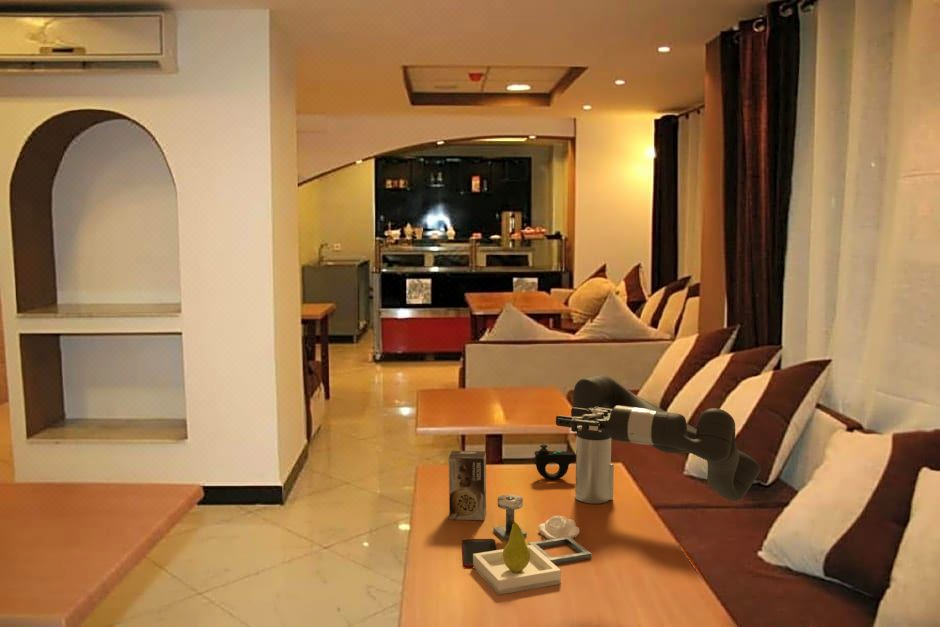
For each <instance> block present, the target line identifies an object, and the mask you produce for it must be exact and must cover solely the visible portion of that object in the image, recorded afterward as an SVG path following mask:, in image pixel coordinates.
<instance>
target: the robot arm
mask: <svg viewBox="0 0 940 627" xmlns="http://www.w3.org/2000/svg"><path fill="white" fill-rule="evenodd" d="M572 404H573V405H572V408H571V410H570V416H568V415H562V414H558V415H556V416H555V425H556V426H558V427H563V428H570V429H571V430H570V431H571V432H573V433H576V436H575V437H576V439H575V441H576V444H575V445H576V446H575V449H576V450H575V454H576V461H575V488H574V491H575V493H574V497H575V499H576V500H577V501H579V502H582V503H586V504H603V503H607V502H609V501H610V500H614V473H615V472H614V471H615V469H614V468H615V465H614V464H613V463H612V440H613V441H615V442H616V441H617V442H623V443H632V444H637V445H650V446H652V447H653V448H654V449H657V450H659V451H660V452H662V453H667V454H692V455H694V456H697V457H698V458H700V459H702V460H705V461H706V463H707V476H706V478H707V479H706V480H707V481H706V482H707V484H708V485H709V487H710V488H711V489H712V490H713V491H714V492H715V493H716V494H718V495H719V496H721V497H722V498H724V499H726V500H728V501H731V502H739V501H740V500H742V499H744V497H745V496H746V495H747V493H748V492H749V490H750V489H751V487H752V485H753V484H754V482H755V481H756V479H757V477H759V474H760V473H761V468H762V467H761V465H760V464H759V462H758V461H757V460H755V459H754V458H753V457H751V456H750V455H748V454H747V453H745V452H743V451H741V450H740V449H739V448H738V447H739V446H738V445H737V442H736V421H735V420H734V417H733V416H732V415H731V414H730V413H729V412H727V411H725V410H724V409H721V408H715V407H713V408H707V409H705V410H704V411H702V412H701V413H700V415H699V417H698V421H697V424H696V428H695V427H693V426H692V425H690V424H688V423H687V419H686V417H685V416H684V415H683V414H681V413H677V412H669V411H666V410H664V409H662V408H660V407H659V406H657V405H654V404H653V403H651V402H649V401H647V400H645V399H644V398H642V397H640V396H638V395H636V394H634V393H633V392H632V391H630V390H629V389H628V388H626V387H625V386H623V385H622V384H621V383H619V382H618V381H617V380H615V379H613V378H612V377H609V376H607V375H603V374H597V375H593V376H588V377H583V378H582V379H580V380H579V379H578V381H577V382H576V383H575V386H574V387H573V394H572Z"/></svg>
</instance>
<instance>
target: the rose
mask: <svg viewBox="0 0 940 627" xmlns="http://www.w3.org/2000/svg"><path fill="white" fill-rule="evenodd" d="M537 530H538V531H539V533H540V535H541V534H542V535H541V536H543V535H544V536H543V537H545V538H546V540H548V539H556V538H562V537H571V538H572V539H575V538H577V536H579V534H580V528H579V526H577V524H576V522H575V520H574V519H571V518H567V517H565V516H563V515H553V516H552V517H550V518H549V519H547V520H546V521H545V522H544V523H539V525H538V526H537ZM574 537H575V538H574Z"/></svg>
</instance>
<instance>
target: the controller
mask: <svg viewBox="0 0 940 627" xmlns="http://www.w3.org/2000/svg"><path fill="white" fill-rule="evenodd" d="M539 447H540V448H541V449H539V450H536V451H534V456H535V457H534V458H533V464H534V465H535V466H536V469H537V470H536V471H537V472H538V473H539V475H540V476H541V477H543V478H544V479H546V480H549V481H557V480H559V479H561V478H563V477H564V476H565V475H567V472H568V471H569V470H568V469H569V466H570V465H571V464H572V463H574V462H575V463H576V451H560V450H559V451H556V450H552V451H551V450H548V449H547V448H548V445H547V444H540V446H539ZM551 463H556V464H557V465H558V470H557V471H556V472H555V473H550V472H548V471H547V470H546V468H547V466H548V464H551Z"/></svg>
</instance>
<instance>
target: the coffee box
mask: <svg viewBox="0 0 940 627" xmlns="http://www.w3.org/2000/svg"><path fill="white" fill-rule="evenodd" d="M448 456H449V457H448V485H449V486H448V489H449V490H448V496H449V497H448V500H449V502H448V503H449V504H448V506H449V508H448V510H449V511H448V513H449V518H448V519H449V520H454V519H455V520H462V521H463V520H465V521H485V520H486V516H487V451H485V450H484V451H481V450H475V451H474V450H451V451H450V454H449V455H448Z"/></svg>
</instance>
